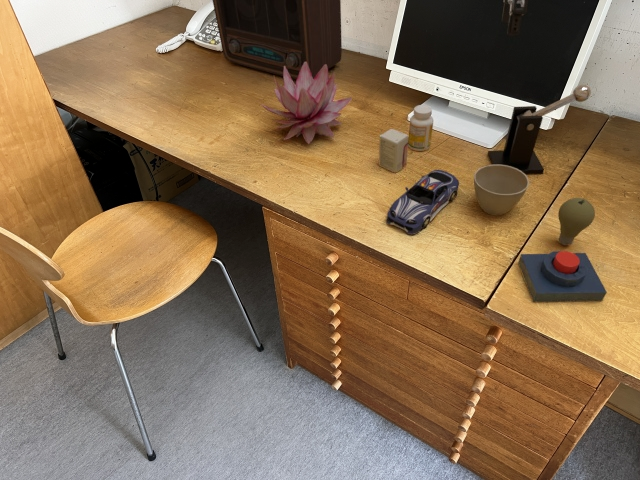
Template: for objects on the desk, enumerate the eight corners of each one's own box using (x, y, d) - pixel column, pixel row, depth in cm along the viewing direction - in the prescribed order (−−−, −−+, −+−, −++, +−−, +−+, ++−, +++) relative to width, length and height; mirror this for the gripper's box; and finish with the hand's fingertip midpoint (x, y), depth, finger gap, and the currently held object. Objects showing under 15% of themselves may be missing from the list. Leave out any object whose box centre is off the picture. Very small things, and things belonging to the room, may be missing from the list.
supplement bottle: (415, 154, 112) (419, 117, 105) (403, 143, 115) (406, 107, 109) (435, 147, 113) (439, 110, 107) (422, 137, 117) (425, 101, 110)
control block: (581, 261, 84) (589, 245, 81) (602, 301, 77) (611, 284, 75) (517, 262, 85) (523, 246, 82) (533, 302, 78) (539, 285, 75)
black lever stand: (531, 153, 109) (546, 102, 100) (542, 174, 103) (559, 120, 94) (487, 155, 110) (498, 103, 101) (495, 175, 104) (508, 122, 95)
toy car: (381, 222, 94) (382, 202, 91) (430, 178, 104) (432, 159, 101) (415, 238, 91) (417, 218, 87) (462, 191, 100) (466, 171, 97)
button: (571, 258, 80) (575, 250, 78) (579, 274, 77) (583, 266, 76) (549, 258, 80) (552, 251, 79) (557, 274, 77) (560, 266, 76)
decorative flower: (289, 162, 112) (282, 103, 102) (254, 124, 126) (245, 69, 116) (366, 136, 119) (367, 78, 108) (325, 102, 133) (322, 48, 122)
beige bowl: (512, 191, 99) (520, 163, 94) (526, 223, 92) (536, 193, 87) (464, 193, 100) (469, 164, 95) (474, 224, 93) (480, 195, 88)
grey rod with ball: (588, 92, 96) (585, 79, 94) (595, 99, 94) (591, 86, 92) (519, 125, 102) (514, 113, 100) (523, 132, 99) (519, 121, 97)
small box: (407, 165, 108) (409, 135, 103) (395, 173, 106) (397, 143, 101) (390, 157, 111) (391, 127, 106) (377, 165, 109) (378, 135, 104)
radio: (220, 65, 156) (199, -38, 136) (256, 46, 166) (241, -53, 146) (309, 89, 140) (300, -24, 119) (342, 66, 150) (340, -42, 129)
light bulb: (578, 258, 85) (597, 215, 78) (545, 248, 87) (561, 205, 80) (583, 238, 88) (601, 196, 81) (551, 230, 90) (566, 187, 83)
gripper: (555, -61, 80) (535, 39, 90) (540, -73, 91) (523, 17, 101) (508, -58, 81) (494, 40, 92) (498, -70, 92) (487, 19, 103)
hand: (509, 28), depth 96 cm, fingers open, 8 cm apart
